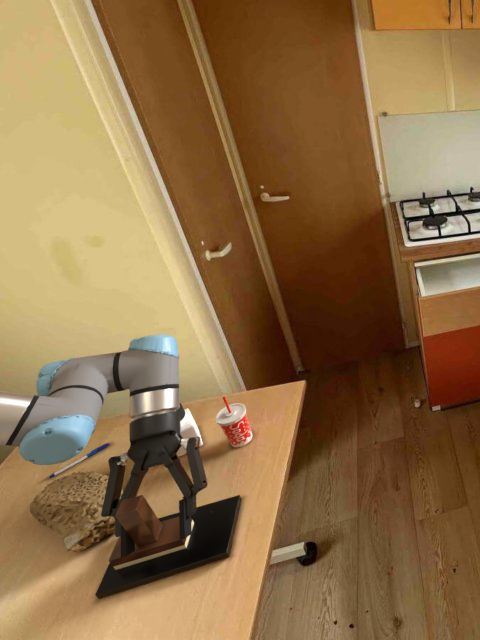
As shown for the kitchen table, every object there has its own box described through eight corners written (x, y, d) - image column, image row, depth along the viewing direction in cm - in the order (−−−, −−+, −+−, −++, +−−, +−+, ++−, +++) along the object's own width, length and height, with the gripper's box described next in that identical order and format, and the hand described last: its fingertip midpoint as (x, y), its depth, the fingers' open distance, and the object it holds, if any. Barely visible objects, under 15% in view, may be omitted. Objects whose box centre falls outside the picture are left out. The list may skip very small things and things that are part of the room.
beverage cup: (225, 453, 99) (205, 411, 93) (229, 434, 104) (210, 392, 98) (255, 444, 101) (237, 402, 95) (257, 425, 106) (240, 384, 100)
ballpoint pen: (109, 443, 102) (107, 440, 101) (110, 445, 101) (108, 442, 101) (49, 477, 94) (47, 474, 93) (51, 479, 93) (48, 476, 93)
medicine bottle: (198, 427, 106) (180, 392, 100) (203, 445, 101) (185, 409, 96) (163, 444, 101) (142, 408, 96) (167, 463, 97) (146, 427, 91)
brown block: (115, 570, 76) (83, 529, 70) (127, 542, 80) (97, 502, 74) (186, 548, 79) (161, 507, 74) (194, 522, 84) (170, 482, 78)
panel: (98, 599, 73) (94, 595, 73) (127, 532, 83) (124, 527, 83) (229, 557, 79) (226, 552, 79) (241, 499, 89) (239, 494, 89)
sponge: (144, 521, 86) (114, 454, 96) (121, 509, 81) (91, 440, 90) (64, 581, 79) (39, 502, 88) (33, 572, 74) (10, 489, 83)
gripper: (224, 401, 88) (231, 520, 82) (102, 429, 82) (99, 560, 76) (209, 401, 81) (215, 530, 75) (74, 431, 75) (69, 575, 69)
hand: (157, 545), depth 76 cm, fingers open, 8 cm apart
